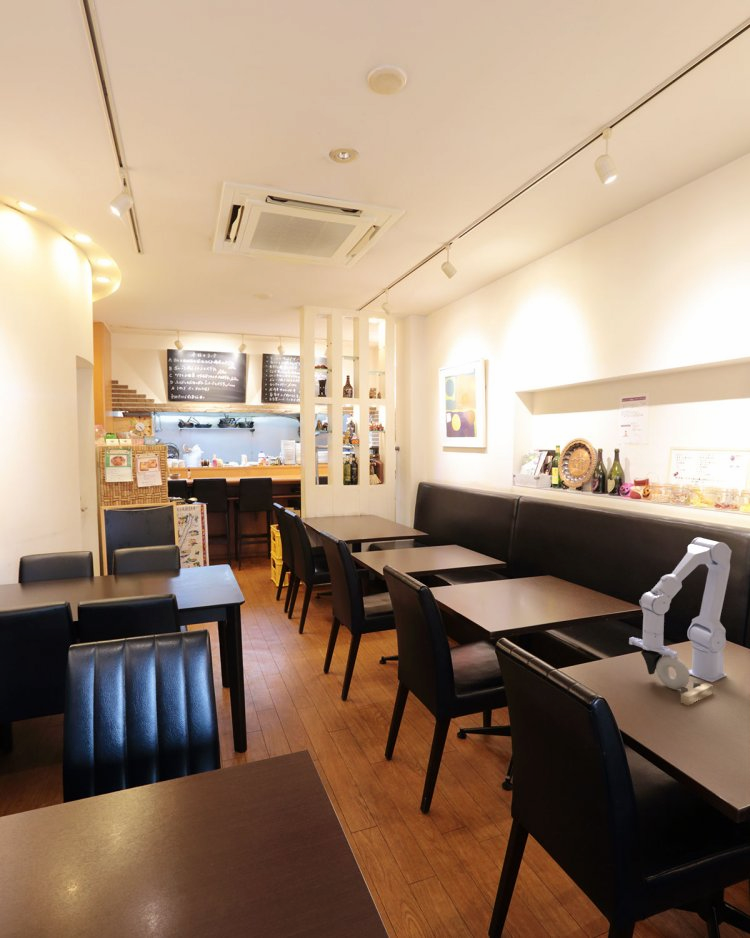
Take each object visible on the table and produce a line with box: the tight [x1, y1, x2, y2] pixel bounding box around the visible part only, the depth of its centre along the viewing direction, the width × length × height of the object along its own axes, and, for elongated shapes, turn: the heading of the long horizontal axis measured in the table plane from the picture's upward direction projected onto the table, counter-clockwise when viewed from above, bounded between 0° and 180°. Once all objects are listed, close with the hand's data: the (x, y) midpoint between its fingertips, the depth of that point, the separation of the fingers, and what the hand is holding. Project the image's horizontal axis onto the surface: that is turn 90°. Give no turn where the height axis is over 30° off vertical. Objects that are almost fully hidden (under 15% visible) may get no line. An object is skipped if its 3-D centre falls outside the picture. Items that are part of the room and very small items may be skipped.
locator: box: [680, 680, 714, 706], centre depth 154 cm, size 14×4×3 cm, turn 122°
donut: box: [655, 655, 691, 691], centre depth 159 cm, size 10×4×10 cm, turn 27°
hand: (651, 673), depth 164 cm, fingers closed
